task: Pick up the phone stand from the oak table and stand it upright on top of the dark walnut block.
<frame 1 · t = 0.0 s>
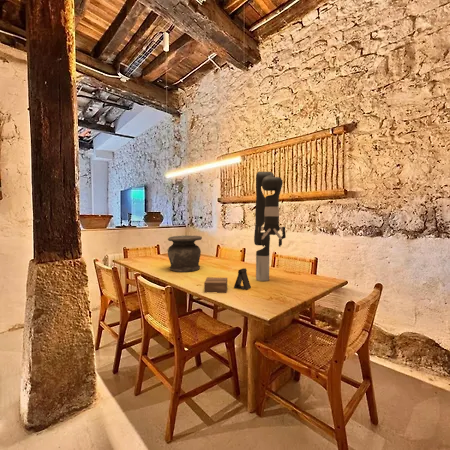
hand: (271, 246, 138), 29 cm above the table, tool pointing down, fingers open, 8 cm apart
walnut block: (216, 289, 161), on the table
clay pot: (185, 269, 218), on the table
phone stand: (242, 288, 164), on the table
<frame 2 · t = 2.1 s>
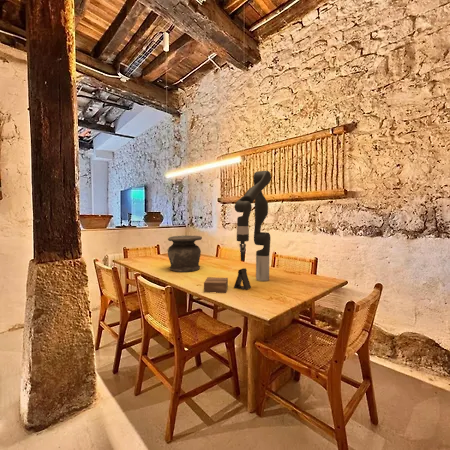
hand: (242, 259, 163), 18 cm above the table, tool pointing down, fingers open, 8 cm apart
nothing on the table moved.
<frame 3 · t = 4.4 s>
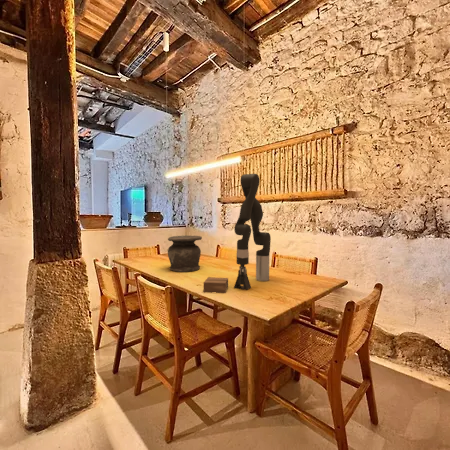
hand: (242, 282, 164), 3 cm above the table, tool pointing down, fingers closed on phone stand, 6 cm apart
phone stand: (242, 288, 164), on the table, touching gripper
everything else where it was.
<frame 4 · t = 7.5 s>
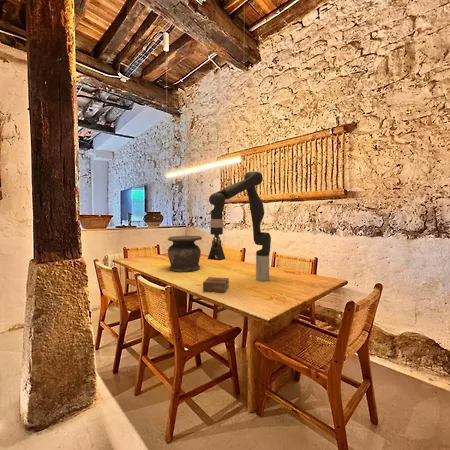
hand: (216, 254, 160), 22 cm above the table, tool pointing down, fingers closed on phone stand, 6 cm apart
phone stand: (216, 259, 160), point 18 cm above the table, touching gripper
everything else where it was.
when the fingers open (11 cm above the table, at t = 10.6 s): phone stand drops 1 cm, resting on walnut block.
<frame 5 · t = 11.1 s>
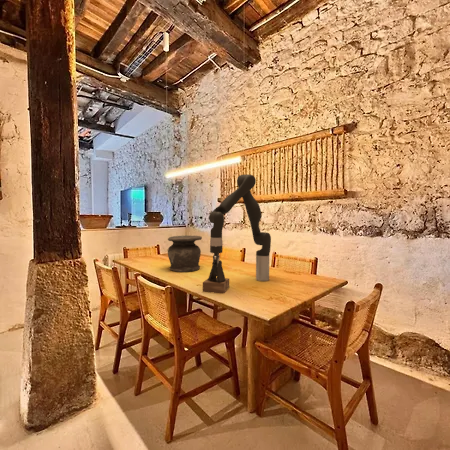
hand: (216, 271, 160), 11 cm above the table, tool pointing down, fingers open, 8 cm apart
walnut block: (216, 290, 161), on the table, touching phone stand
phone stand: (216, 280, 160), point 6 cm above the table, touching walnut block
everything else where it was.
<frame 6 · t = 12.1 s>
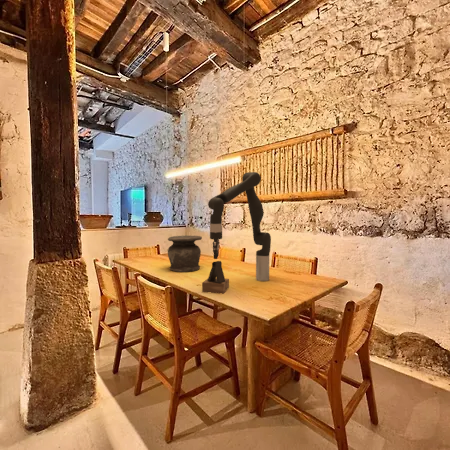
hand: (216, 257, 160), 20 cm above the table, tool pointing down, fingers open, 8 cm apart
phone stand: (216, 281, 158), point 5 cm above the table, touching walnut block
everything else where it was.
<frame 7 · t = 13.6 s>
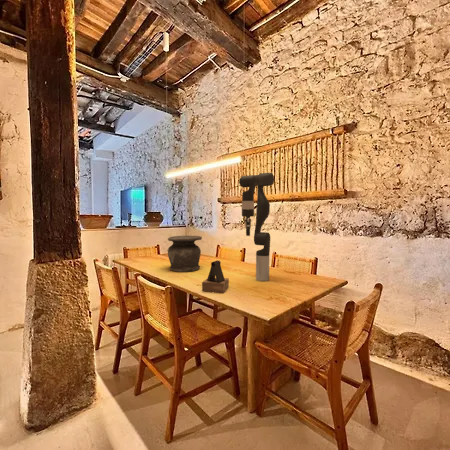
hand: (247, 235, 161), 33 cm above the table, tool pointing down, fingers open, 8 cm apart
walnut block: (215, 290, 161), on the table
phone stand: (215, 281, 160), point 5 cm above the table
everything else where it was.
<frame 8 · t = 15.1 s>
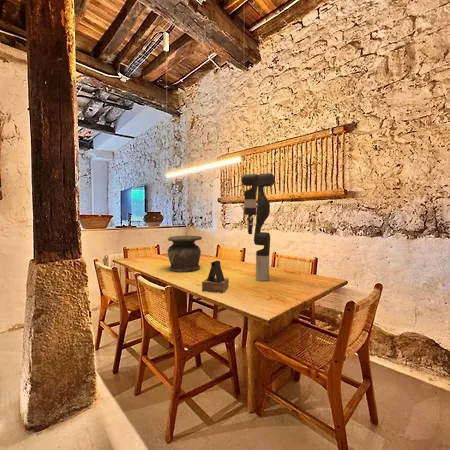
hand: (250, 233, 161), 34 cm above the table, tool pointing down, fingers open, 8 cm apart
walnut block: (215, 289, 162), on the table, touching phone stand
phone stand: (215, 281, 161), point 5 cm above the table, touching walnut block
everything else where it was.
at the end: phone stand inside the target area on the walnut block (0.8 cm from its centre), point 5.8 cm above the walnut block's base; phone stand tilted 0°; the gripper is holding nothing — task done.
